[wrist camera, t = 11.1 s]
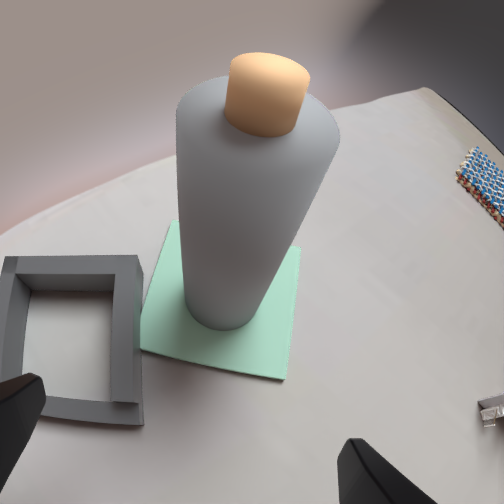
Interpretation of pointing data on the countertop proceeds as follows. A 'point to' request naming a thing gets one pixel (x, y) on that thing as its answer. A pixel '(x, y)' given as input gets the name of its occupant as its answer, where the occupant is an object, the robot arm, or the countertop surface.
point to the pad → (213, 341)
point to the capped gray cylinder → (246, 181)
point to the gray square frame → (122, 334)
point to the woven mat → (484, 182)
